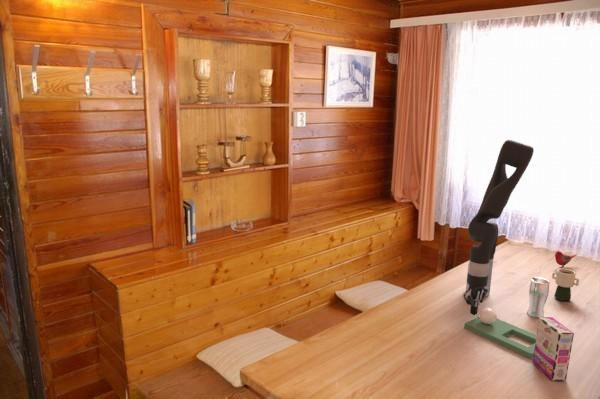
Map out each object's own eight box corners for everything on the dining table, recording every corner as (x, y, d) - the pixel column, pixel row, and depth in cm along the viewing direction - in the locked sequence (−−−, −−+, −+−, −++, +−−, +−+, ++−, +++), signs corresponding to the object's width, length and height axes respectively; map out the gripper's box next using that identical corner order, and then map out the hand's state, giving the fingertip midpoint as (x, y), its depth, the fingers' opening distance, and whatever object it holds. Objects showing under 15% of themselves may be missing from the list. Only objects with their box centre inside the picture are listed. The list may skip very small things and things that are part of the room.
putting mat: (464, 328, 178) (464, 323, 178) (485, 318, 186) (485, 313, 186) (530, 359, 158) (531, 353, 158) (551, 346, 166) (552, 341, 166)
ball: (475, 322, 179) (477, 308, 177) (484, 318, 182) (486, 304, 181) (489, 328, 174) (491, 314, 173) (498, 324, 177) (500, 309, 176)
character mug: (578, 301, 204) (583, 273, 201) (571, 305, 199) (576, 277, 196) (552, 292, 212) (557, 265, 209) (545, 296, 208) (549, 269, 205)
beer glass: (547, 319, 186) (552, 284, 183) (528, 317, 188) (533, 282, 184) (542, 311, 193) (547, 277, 190) (524, 310, 194) (528, 276, 191)
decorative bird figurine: (549, 269, 241) (552, 250, 239) (572, 264, 249) (575, 246, 246) (554, 271, 239) (557, 252, 236) (577, 266, 246) (580, 248, 244)
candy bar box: (567, 381, 146) (575, 333, 142) (552, 381, 146) (559, 333, 142) (546, 361, 157) (552, 316, 153) (531, 361, 157) (538, 316, 153)
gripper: (479, 265, 185) (475, 306, 189) (459, 272, 177) (454, 314, 181) (496, 271, 179) (492, 313, 183) (476, 279, 172) (471, 322, 175)
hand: (473, 313), depth 182 cm, fingers closed
